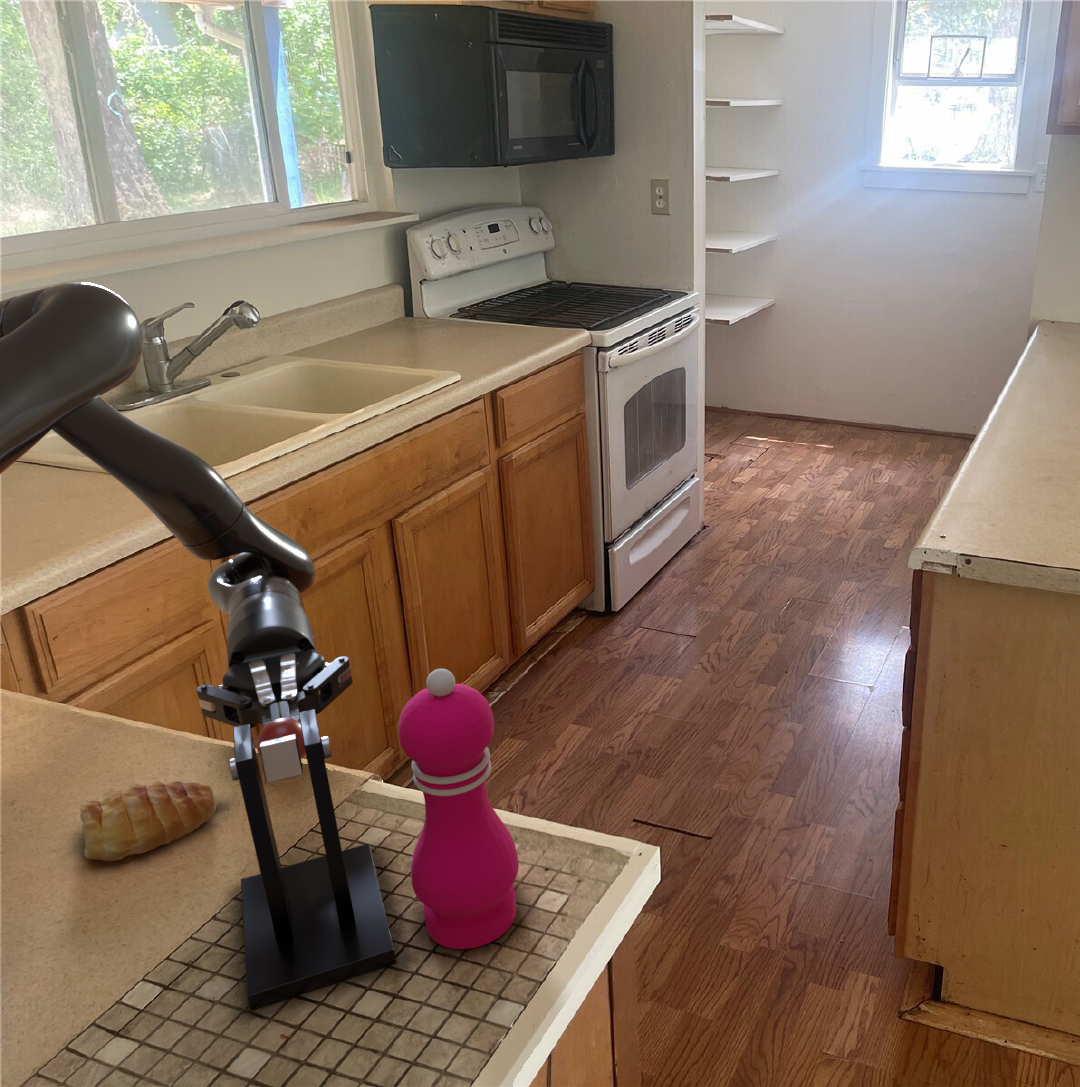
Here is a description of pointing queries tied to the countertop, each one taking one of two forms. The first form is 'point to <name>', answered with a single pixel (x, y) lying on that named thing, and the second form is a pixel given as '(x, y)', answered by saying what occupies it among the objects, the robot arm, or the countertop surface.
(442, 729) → the pepper mill
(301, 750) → the lever
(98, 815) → the pastry
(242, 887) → the bracket
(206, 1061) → the countertop surface
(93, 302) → the robot arm
